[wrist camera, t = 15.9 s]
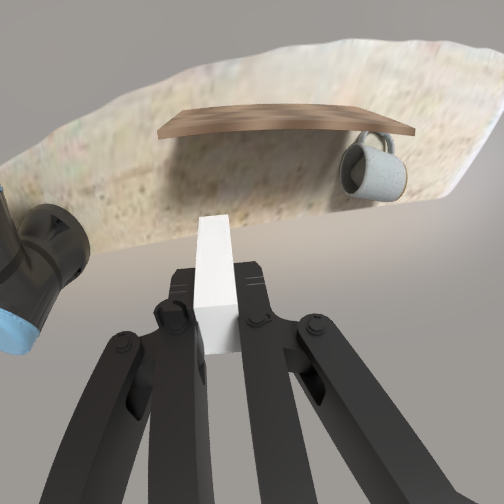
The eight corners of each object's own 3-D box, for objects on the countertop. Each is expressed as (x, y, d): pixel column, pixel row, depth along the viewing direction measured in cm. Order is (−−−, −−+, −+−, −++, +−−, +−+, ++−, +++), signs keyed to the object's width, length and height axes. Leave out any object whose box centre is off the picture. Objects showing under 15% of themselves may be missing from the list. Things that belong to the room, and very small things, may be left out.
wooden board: (183, 118, 35) (158, 142, 23) (182, 110, 34) (157, 130, 22) (355, 114, 36) (414, 139, 24) (356, 106, 35) (415, 128, 23)
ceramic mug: (378, 192, 43) (401, 213, 37) (334, 183, 42) (353, 204, 36) (396, 132, 38) (424, 144, 31) (351, 117, 36) (376, 127, 30)
